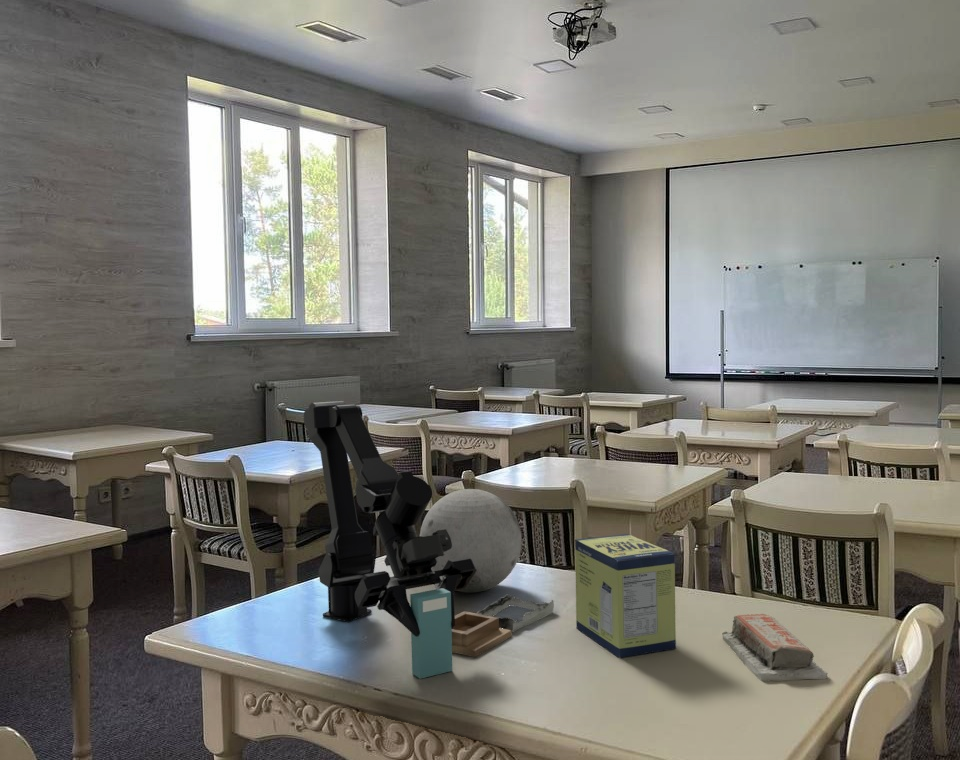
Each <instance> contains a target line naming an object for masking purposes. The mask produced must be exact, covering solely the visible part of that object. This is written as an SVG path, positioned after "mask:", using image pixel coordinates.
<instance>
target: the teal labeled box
mask: <svg viewBox="0 0 960 760" xmlns="http://www.w3.org/2000/svg"><path fill="white" fill-rule="evenodd" d="M409 597H410V602H409V603H410V607H411V609H412V611H413V614H414V616H415V618H416V621H417V623H418V627H419V630H420V634H419V636H417V637H416V636H415V635H413V634H412V633H411V632H410V637H411V638H410V640H411V641H410V642H411V674H413V675H414V676H415V677H417V678H418V679H420V680H421V679H424V678H428V677H433V676H437V675H440V674H443V673H444V674H445V673H449V672H452V671H453V652H452V628H451V592H450V591H448V590H446V589H444V588H441V589H436V588H435V589H431V590H430V589H429V590H426V591H421V592H415V593H411V594H410V596H409Z"/></svg>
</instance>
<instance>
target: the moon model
mask: <svg viewBox="0 0 960 760" xmlns="http://www.w3.org/2000/svg"><path fill="white" fill-rule="evenodd" d="M443 529H446V530H447V532H448V534H449V536H450V538H451V542H452V548H451V549H449V550H448V551H445V552H444V556H439V557H437V558H436V561H437V563H436V565H435V566H434V567H432V568H431V569H432V571H438V570H443V568H444V566H445V565H446V563H447V562H448V560H452V559H458V558H463V557H468V558H471V559H472V560H473V562H474V564H475V566H476V569H477V571H476V572H475V574H474V575H473V577H472V578H471V580H470V582H469V583H468V585H467V586H466V587H465V588H463V589H461V590H456V591H457V592H461V593H462V592H463V593H468V594H469V593H470V594H471V593H479V592H484V591H487V590H488V591H489V590H490V589H492V588H494V587H496V586H498V585H500V584H501V583H502V582H503V581H504V580H506V579H507V578H508V576H509V575H510V574H511V573H512V572H513V570H514V569H515V566H517V563H518V561H519V558H520V555H521V551H522V541H523V540H522V531H521V527H520V523H519V521H518V518H517V517H516V515H515V513H514V511H513V510H512V509H511V507H510V506H509V505H508V504H507V503H506V501H504V500H503V499H502V498H501V497H499V496H497V495H496V494H493V493H491V492H489V491H486V490H483V489H478V488H465V489H459V490H455V491H452V492H450V493H448V494H446V495H444V496H442V497H441V498H440V499H438V501H436V502H435V503H434V504H433V505H432V506H431V507H430V509H429V510H428V512H427V513H426V515H425V516H424V519H423V521H422V524H421V527H420V531H419V537H420V536H423V537H425V536H431V535H432V533H434V532H436V531H437V530H443Z"/></svg>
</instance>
